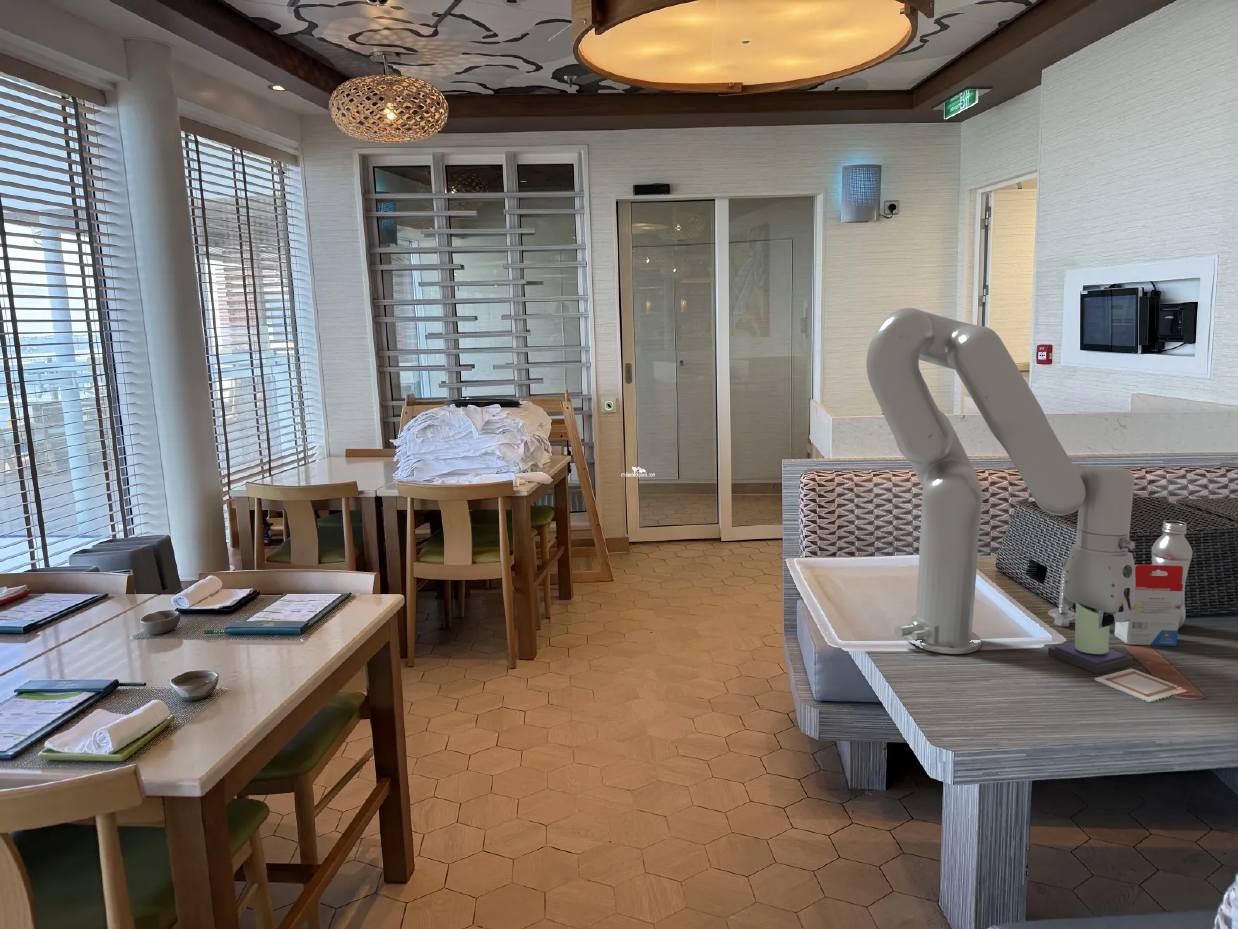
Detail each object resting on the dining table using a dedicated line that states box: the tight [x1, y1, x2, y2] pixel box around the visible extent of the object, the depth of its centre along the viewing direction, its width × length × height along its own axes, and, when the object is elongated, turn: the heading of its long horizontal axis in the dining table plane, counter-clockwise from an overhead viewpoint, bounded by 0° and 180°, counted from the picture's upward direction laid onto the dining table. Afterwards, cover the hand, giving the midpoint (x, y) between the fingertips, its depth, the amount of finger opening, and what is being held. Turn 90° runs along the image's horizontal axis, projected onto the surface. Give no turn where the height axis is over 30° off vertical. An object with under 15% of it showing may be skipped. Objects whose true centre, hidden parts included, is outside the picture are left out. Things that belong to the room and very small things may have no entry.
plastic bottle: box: [1151, 519, 1194, 629], centre depth 157 cm, size 6×7×20 cm
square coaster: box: [1094, 668, 1183, 703], centre depth 133 cm, size 9×9×1 cm
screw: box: [1047, 557, 1076, 627], centre depth 159 cm, size 13×5×5 cm
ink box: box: [1114, 564, 1183, 647], centre depth 150 cm, size 8×5×15 cm, turn 84°
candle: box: [1074, 603, 1110, 654], centre depth 143 cm, size 5×5×8 cm
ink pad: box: [1047, 640, 1134, 675], centre depth 143 cm, size 9×9×2 cm
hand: (1092, 646), depth 143 cm, fingers closed on candle, 1 cm apart
